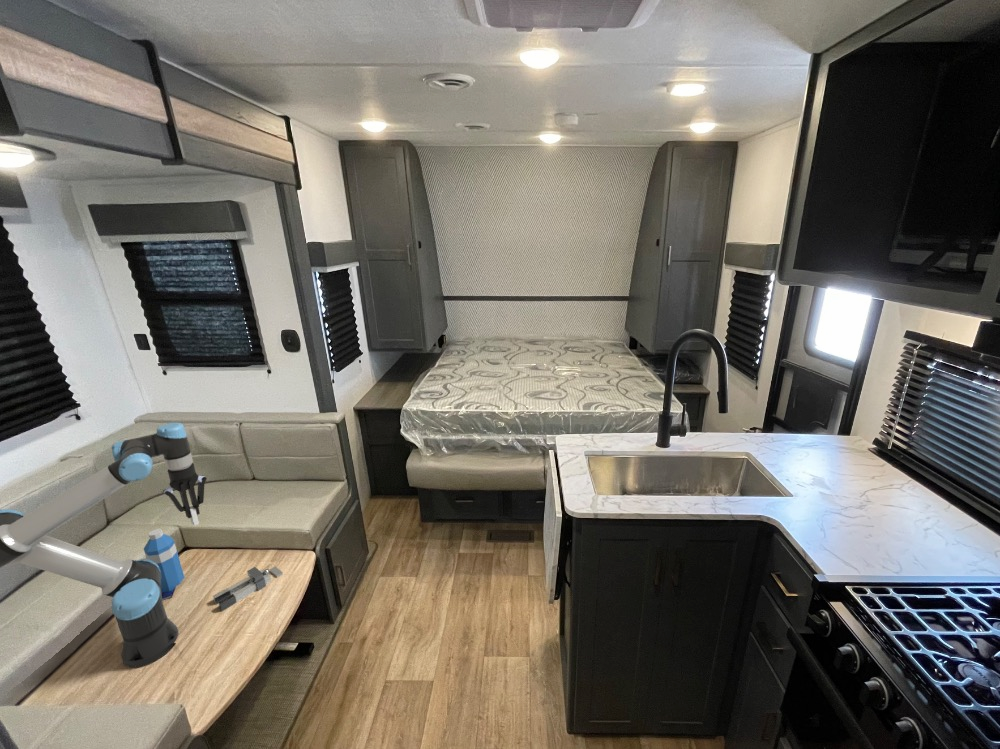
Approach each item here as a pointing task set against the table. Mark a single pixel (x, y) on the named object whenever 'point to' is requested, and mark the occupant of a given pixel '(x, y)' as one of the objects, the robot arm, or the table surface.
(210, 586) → the table surface
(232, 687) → the table surface
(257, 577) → the collar
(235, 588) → the arm
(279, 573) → the tongs fixed
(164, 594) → the smartphone
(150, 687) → the table surface
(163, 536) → the water bottle
